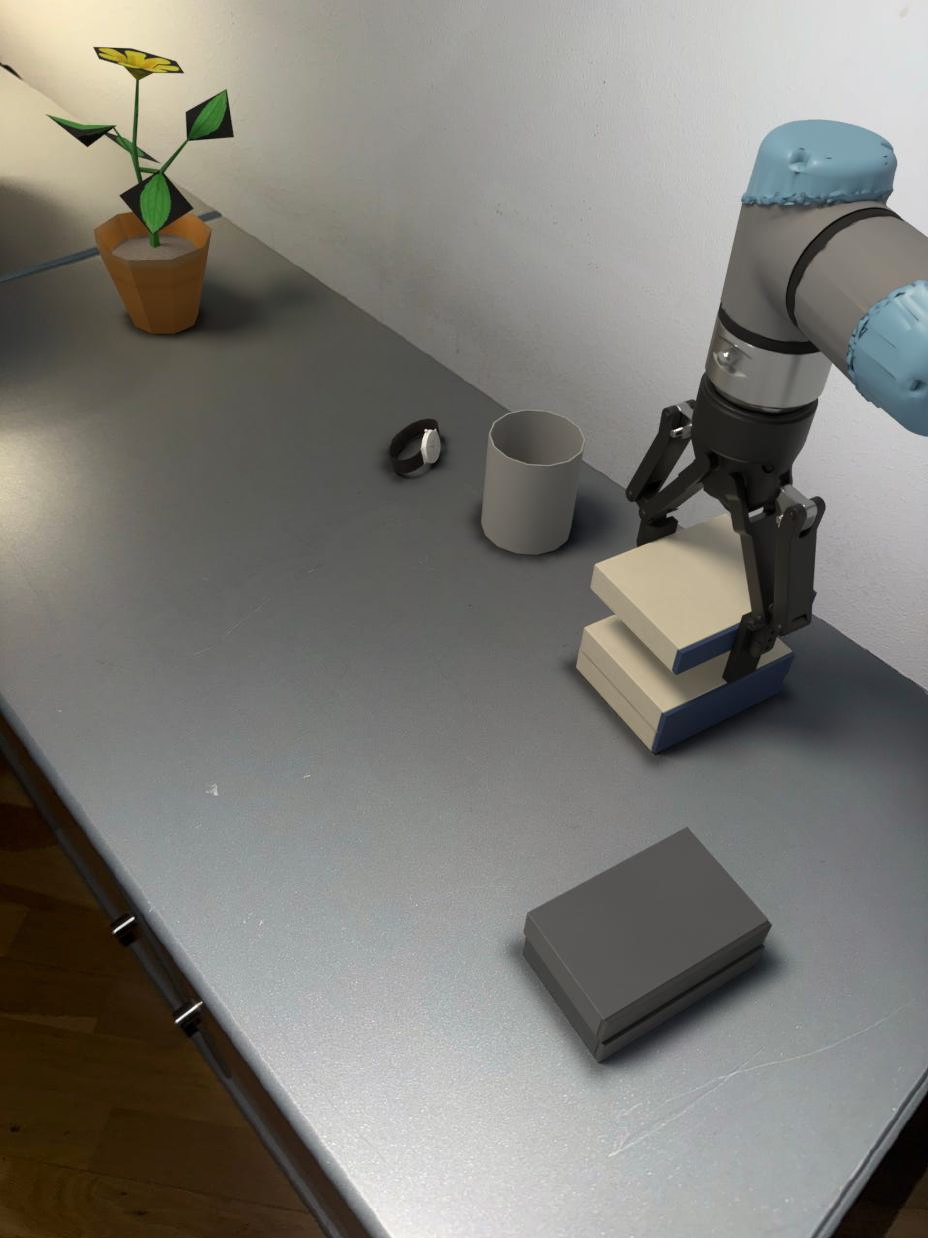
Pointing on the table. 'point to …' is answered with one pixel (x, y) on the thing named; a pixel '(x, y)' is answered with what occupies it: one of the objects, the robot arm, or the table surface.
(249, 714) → the table surface
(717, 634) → the cream book
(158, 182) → the potted plant
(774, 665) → the cream stack
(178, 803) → the table surface
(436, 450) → the watch
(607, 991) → the grey stack
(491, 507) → the cup
